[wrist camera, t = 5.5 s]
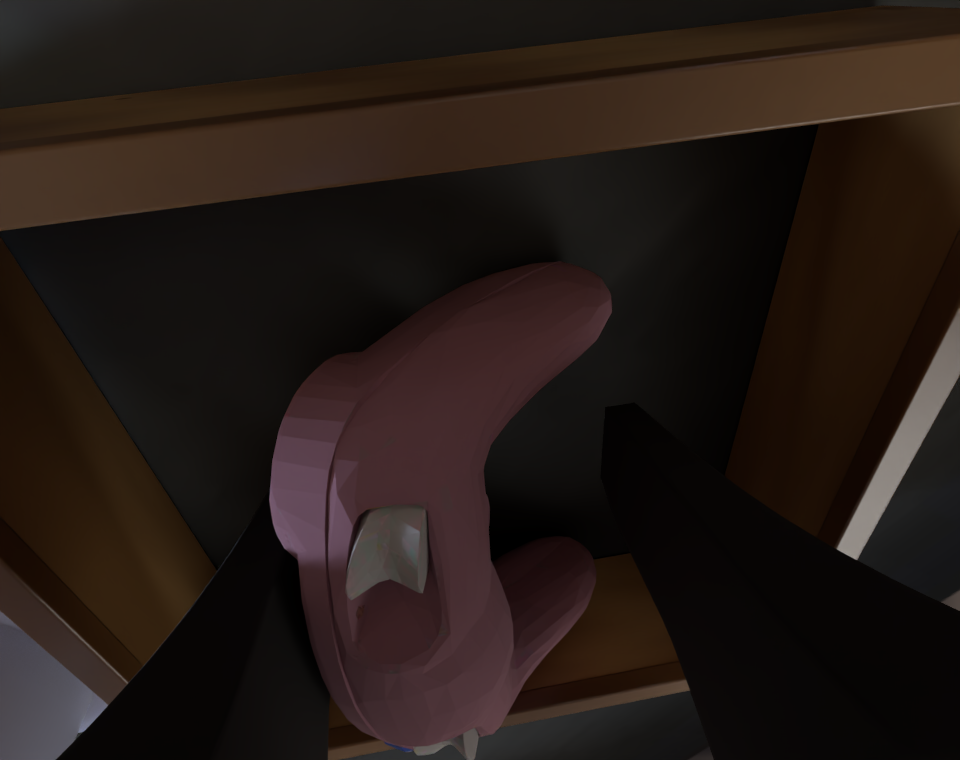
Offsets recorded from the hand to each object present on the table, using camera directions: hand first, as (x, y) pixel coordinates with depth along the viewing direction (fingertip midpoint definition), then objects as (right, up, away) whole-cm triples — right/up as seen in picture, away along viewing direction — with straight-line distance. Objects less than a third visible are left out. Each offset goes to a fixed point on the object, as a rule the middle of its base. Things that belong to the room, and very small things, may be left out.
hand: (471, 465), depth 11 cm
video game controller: (0, 0, +2) cm, 2 cm away
